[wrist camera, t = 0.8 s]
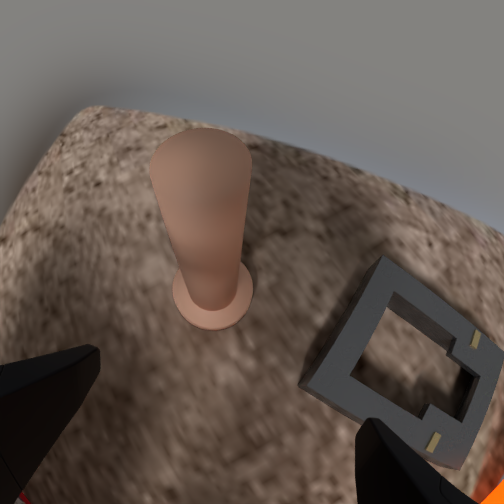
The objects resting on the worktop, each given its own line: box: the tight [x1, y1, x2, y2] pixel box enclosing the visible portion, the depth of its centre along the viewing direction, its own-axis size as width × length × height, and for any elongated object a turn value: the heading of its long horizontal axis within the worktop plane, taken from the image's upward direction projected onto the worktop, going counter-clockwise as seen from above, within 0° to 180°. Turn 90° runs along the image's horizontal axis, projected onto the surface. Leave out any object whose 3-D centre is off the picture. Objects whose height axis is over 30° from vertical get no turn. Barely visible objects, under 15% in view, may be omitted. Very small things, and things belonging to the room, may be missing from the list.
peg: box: [149, 128, 253, 331], centre depth 17 cm, size 6×6×15 cm
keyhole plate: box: [298, 255, 504, 470], centre depth 21 cm, size 17×12×3 cm
